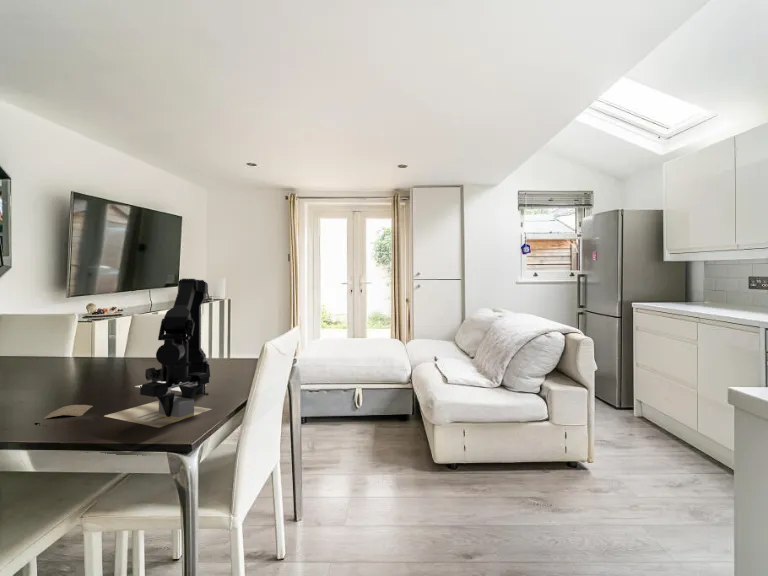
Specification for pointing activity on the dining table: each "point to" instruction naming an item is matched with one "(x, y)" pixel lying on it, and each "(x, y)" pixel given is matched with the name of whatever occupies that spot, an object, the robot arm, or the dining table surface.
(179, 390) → the paper sheet
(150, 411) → the plywood board
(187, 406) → the block
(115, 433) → the dining table surface
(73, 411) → the clay tablet
